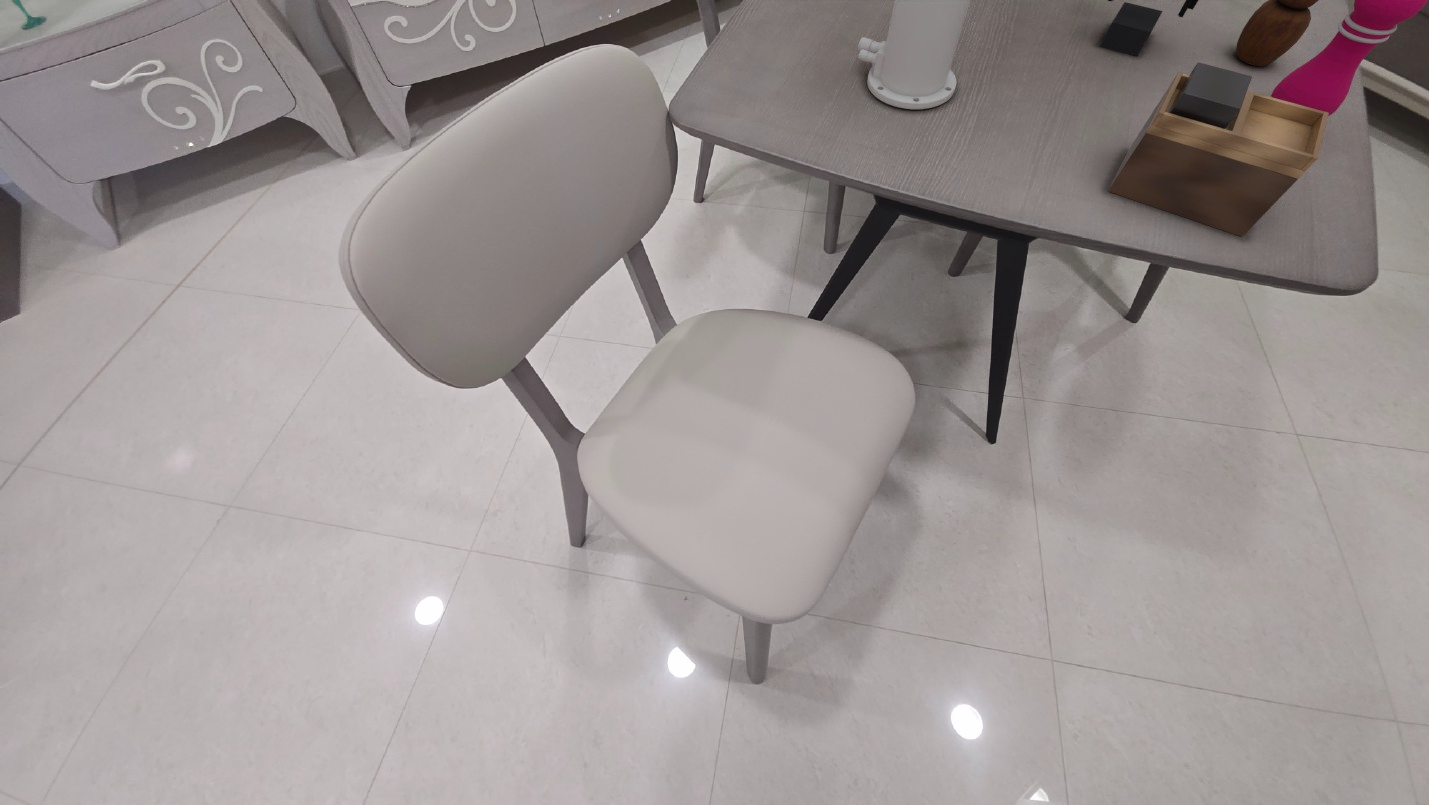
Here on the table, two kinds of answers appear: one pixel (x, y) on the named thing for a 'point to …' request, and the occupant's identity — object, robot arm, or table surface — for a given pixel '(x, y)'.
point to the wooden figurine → (1273, 30)
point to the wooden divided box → (1219, 150)
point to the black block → (1130, 28)
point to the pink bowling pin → (1344, 54)
